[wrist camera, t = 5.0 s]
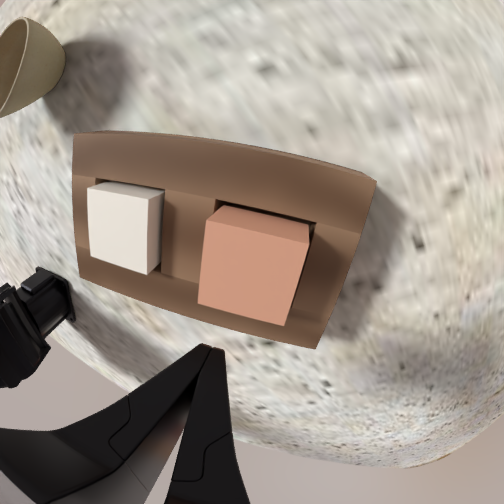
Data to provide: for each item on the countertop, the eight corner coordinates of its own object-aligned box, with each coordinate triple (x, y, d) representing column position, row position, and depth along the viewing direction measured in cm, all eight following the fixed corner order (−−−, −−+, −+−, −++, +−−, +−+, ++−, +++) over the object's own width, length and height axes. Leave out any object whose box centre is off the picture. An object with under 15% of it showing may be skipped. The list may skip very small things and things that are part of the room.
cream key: (167, 255, 19) (147, 274, 16) (113, 240, 20) (90, 256, 17) (171, 189, 17) (148, 199, 14) (113, 179, 17) (87, 187, 15)
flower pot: (91, 72, 16) (31, 66, 10) (36, 131, 19) (-16, 142, 13) (75, 10, 13) (27, -3, 7) (24, 68, 16) (-21, 70, 10)
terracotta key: (287, 297, 17) (283, 326, 15) (213, 278, 18) (197, 303, 15) (308, 224, 15) (309, 244, 12) (223, 204, 16) (206, 220, 13)
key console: (315, 316, 22) (315, 349, 18) (105, 258, 23) (79, 277, 20) (361, 172, 17) (376, 181, 13) (106, 130, 18) (73, 133, 15)
